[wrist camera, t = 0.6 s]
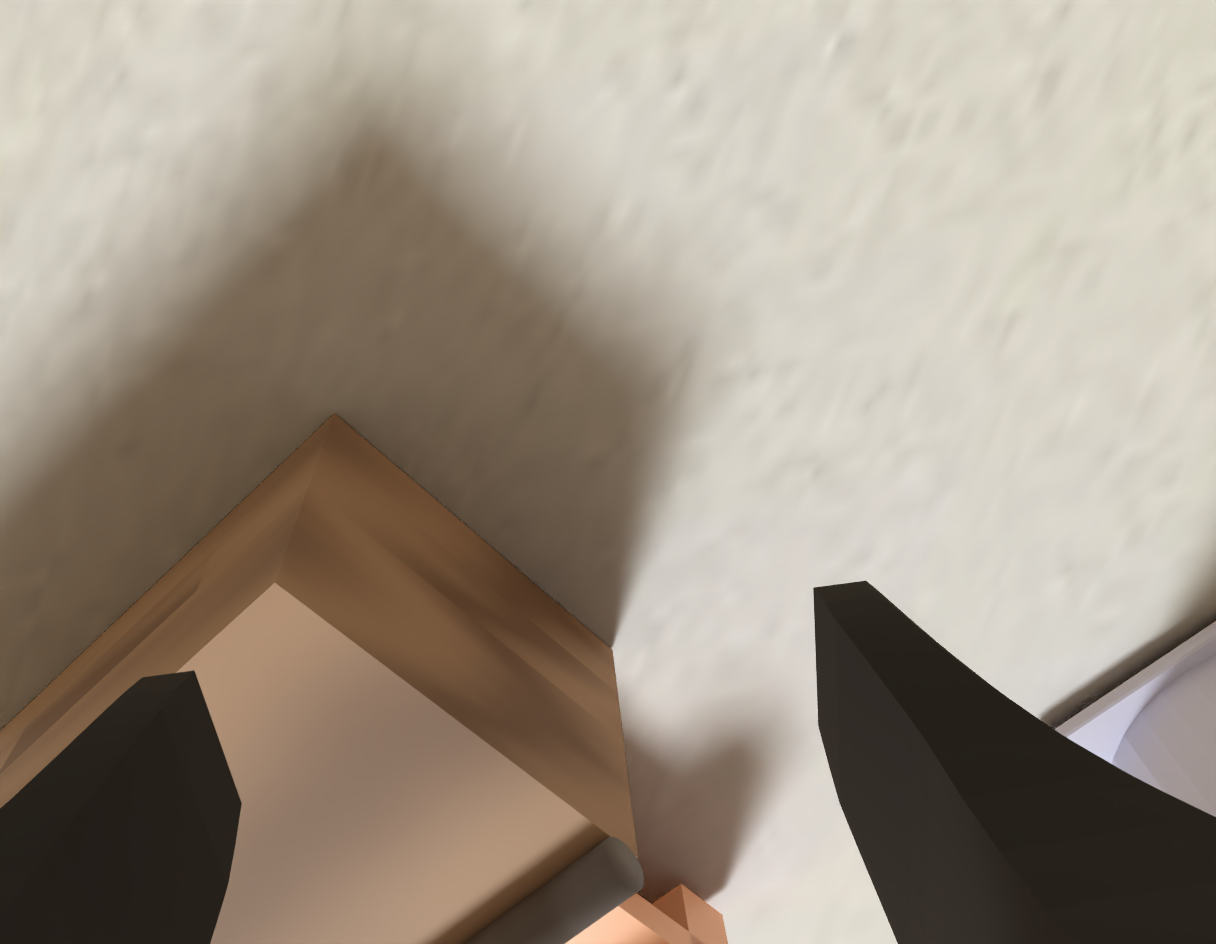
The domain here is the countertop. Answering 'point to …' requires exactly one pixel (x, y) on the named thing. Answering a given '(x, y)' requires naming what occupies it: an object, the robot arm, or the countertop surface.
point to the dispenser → (376, 717)
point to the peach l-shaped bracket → (658, 922)
